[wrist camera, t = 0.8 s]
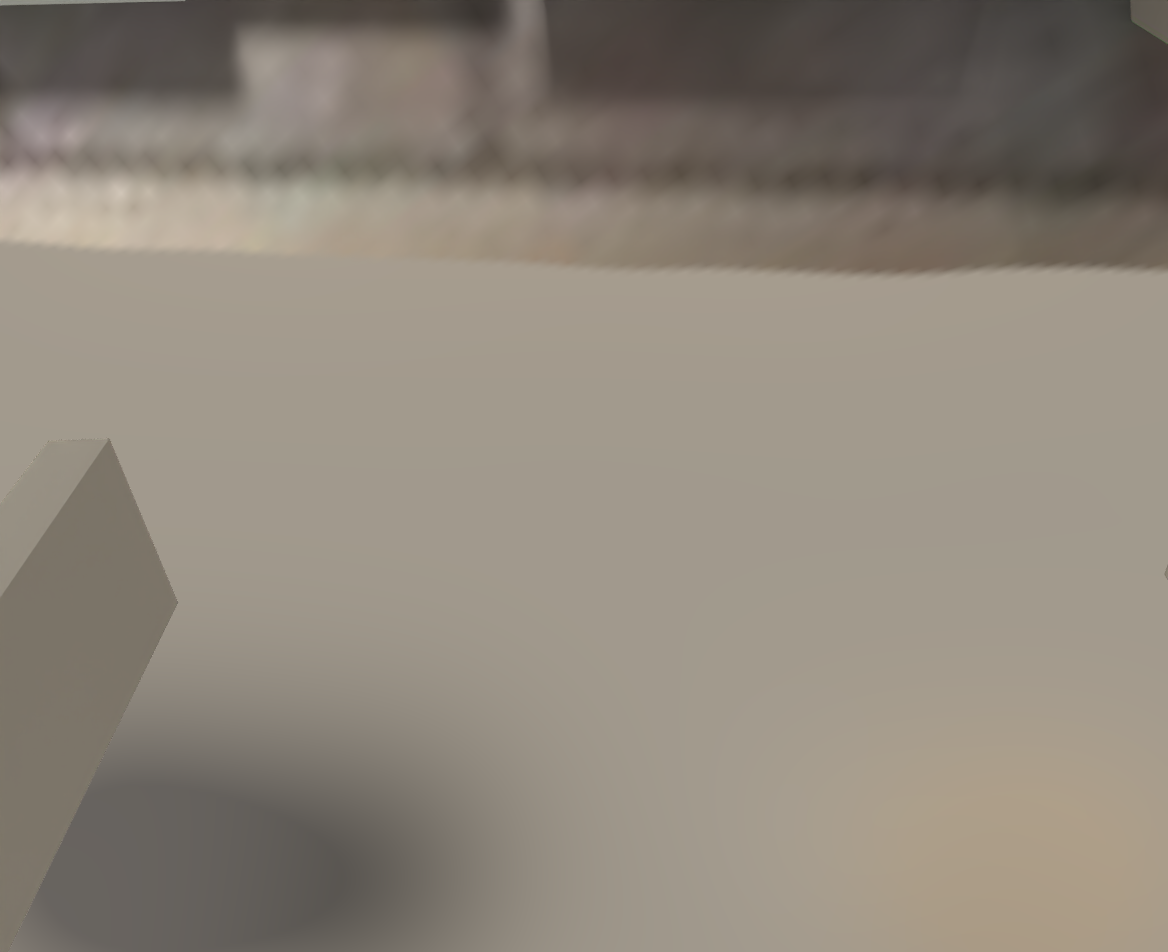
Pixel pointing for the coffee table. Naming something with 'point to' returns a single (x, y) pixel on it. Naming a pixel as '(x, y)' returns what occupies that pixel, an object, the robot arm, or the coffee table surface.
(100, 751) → the robot arm
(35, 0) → the trap box
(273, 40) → the coffee table surface
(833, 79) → the coffee table surface
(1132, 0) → the puzzle toy
